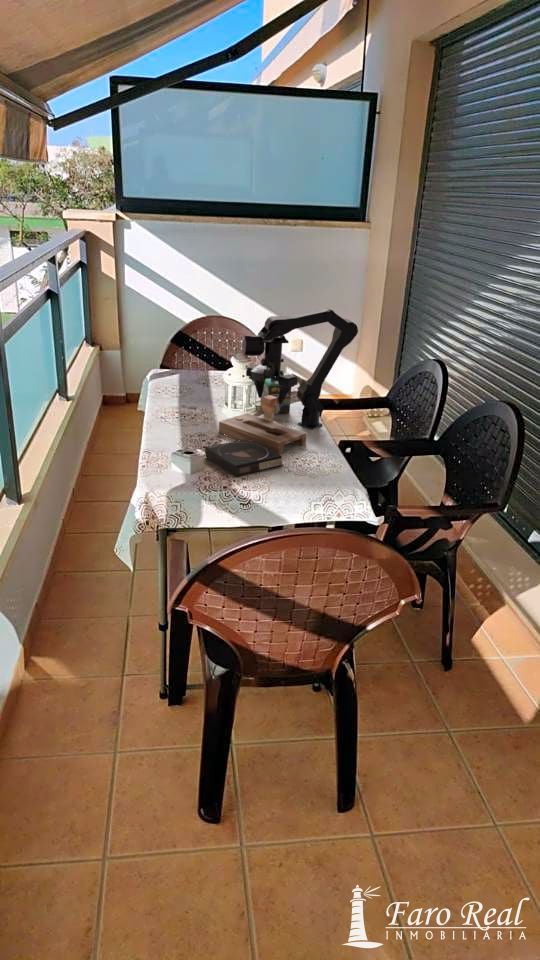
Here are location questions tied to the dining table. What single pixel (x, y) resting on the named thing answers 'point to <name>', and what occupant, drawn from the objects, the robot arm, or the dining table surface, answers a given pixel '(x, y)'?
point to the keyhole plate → (261, 432)
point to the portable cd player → (243, 457)
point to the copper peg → (269, 407)
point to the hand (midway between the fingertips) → (270, 400)
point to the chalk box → (276, 395)
